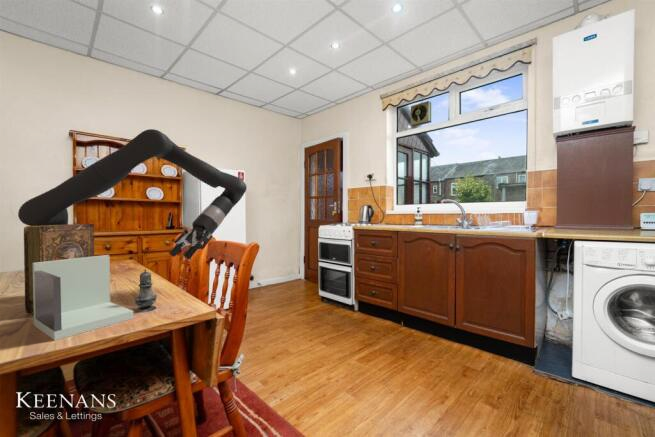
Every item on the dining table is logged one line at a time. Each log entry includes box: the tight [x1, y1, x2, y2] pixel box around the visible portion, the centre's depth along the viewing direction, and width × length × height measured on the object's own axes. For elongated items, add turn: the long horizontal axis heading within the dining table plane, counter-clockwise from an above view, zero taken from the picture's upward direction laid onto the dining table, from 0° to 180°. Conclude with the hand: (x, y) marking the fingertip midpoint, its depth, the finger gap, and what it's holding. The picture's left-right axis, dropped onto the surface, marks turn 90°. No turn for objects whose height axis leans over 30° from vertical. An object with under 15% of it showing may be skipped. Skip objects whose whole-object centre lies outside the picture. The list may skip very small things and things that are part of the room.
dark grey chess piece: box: [133, 268, 158, 313], centre depth 85 cm, size 6×6×12 cm
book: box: [23, 223, 95, 314], centre depth 88 cm, size 16×6×25 cm, turn 168°
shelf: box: [33, 254, 135, 341], centre depth 76 cm, size 16×16×16 cm
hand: (178, 256), depth 94 cm, fingers open, 8 cm apart
